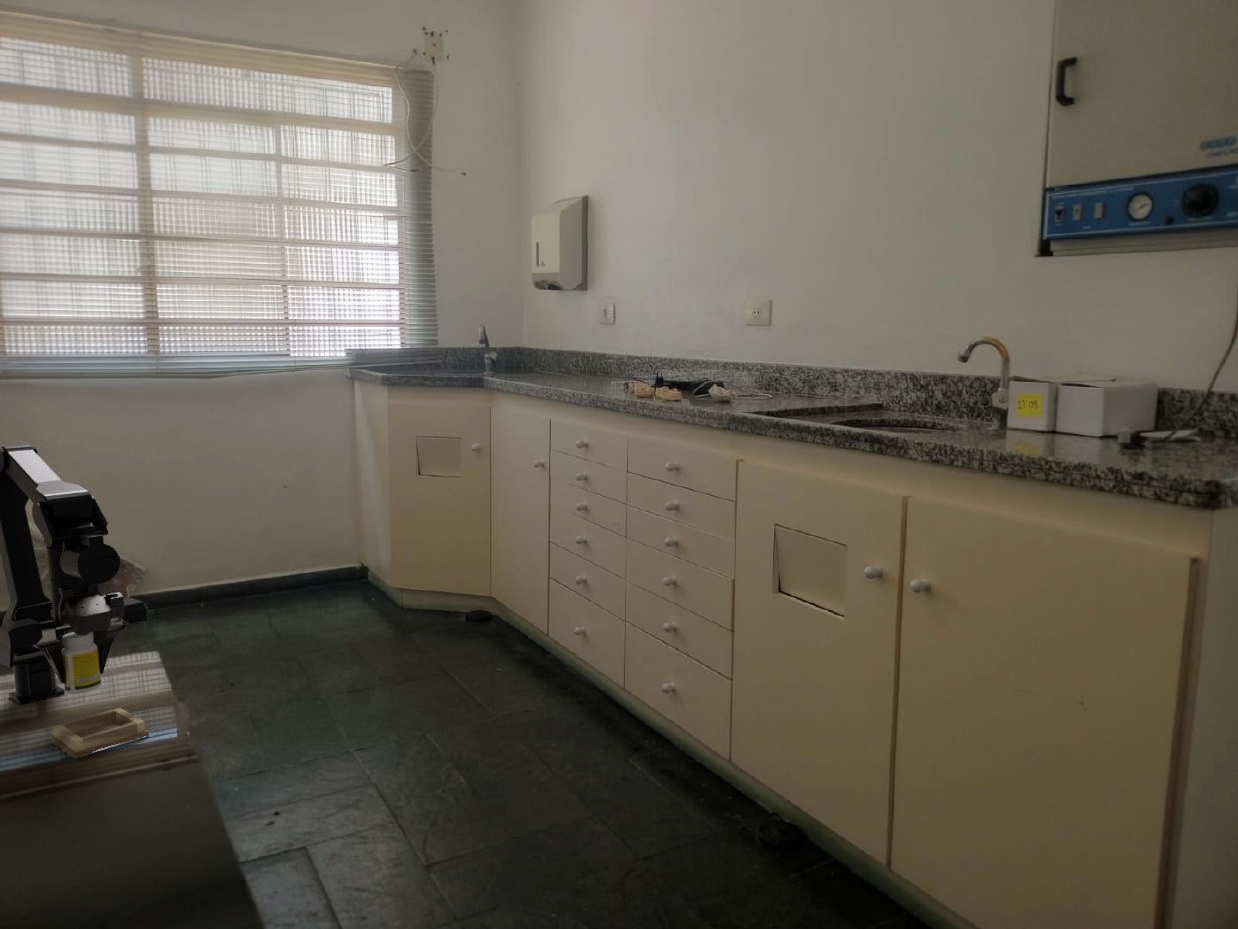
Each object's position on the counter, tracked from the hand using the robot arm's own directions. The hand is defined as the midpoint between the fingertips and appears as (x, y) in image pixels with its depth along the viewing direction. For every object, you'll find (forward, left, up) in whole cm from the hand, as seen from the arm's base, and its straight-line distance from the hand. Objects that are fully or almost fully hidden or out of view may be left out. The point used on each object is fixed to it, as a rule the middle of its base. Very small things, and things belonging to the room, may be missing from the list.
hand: (82, 678), depth 142 cm
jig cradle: (+10, -1, -6) cm, 12 cm away
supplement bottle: (0, 0, -2) cm, 2 cm away
